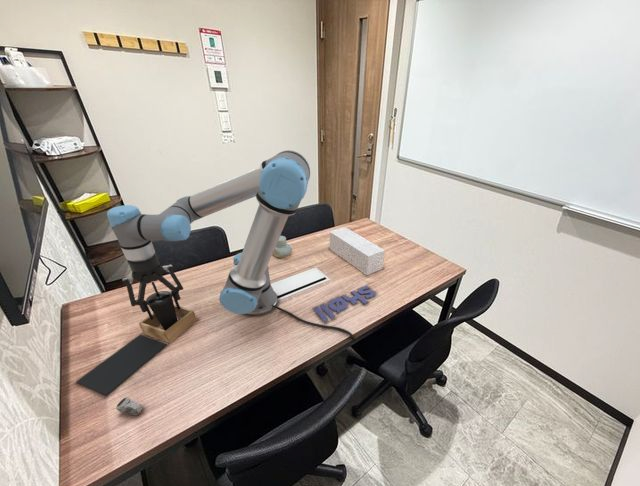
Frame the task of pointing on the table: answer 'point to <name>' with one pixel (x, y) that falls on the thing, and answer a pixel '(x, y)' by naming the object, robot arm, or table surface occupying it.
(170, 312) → the drinking cup
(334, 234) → the white rectangular block
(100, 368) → the mat
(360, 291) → the signage
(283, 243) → the air freshener
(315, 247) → the table surface
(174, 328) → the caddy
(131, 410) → the grey stone
